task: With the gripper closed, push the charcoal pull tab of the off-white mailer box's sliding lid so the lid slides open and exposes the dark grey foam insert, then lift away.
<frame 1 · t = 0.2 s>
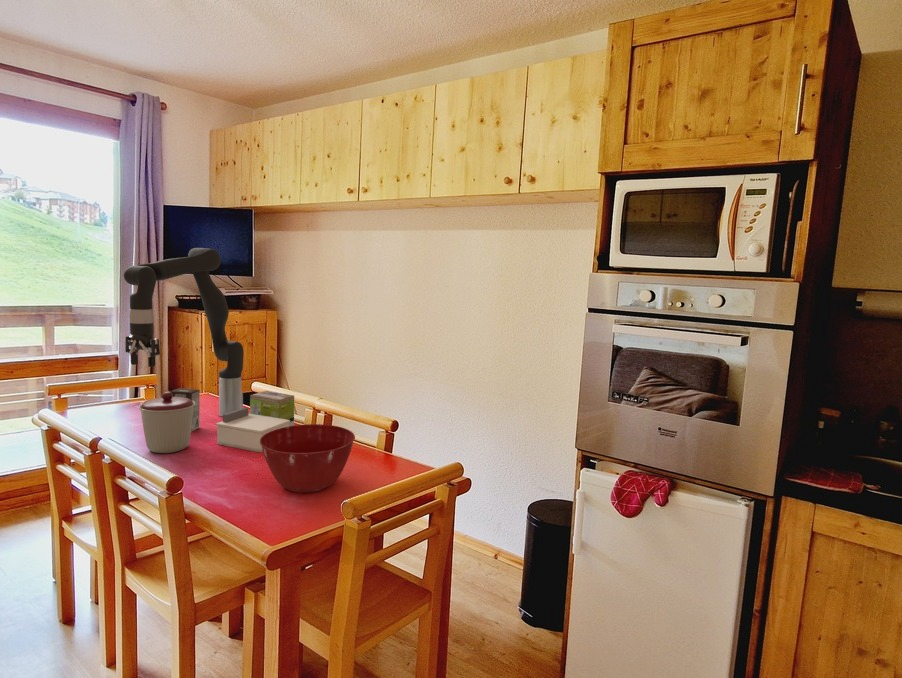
hand: (143, 365, 199), 29 cm above the table, fingers open, 8 cm apart
tea box: (272, 429, 226), on the table
mixing bowl: (307, 485, 170), on the table
canister: (168, 449, 197), on the table
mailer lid: (253, 418, 207), point 9 cm above the table, slide at 0.0 cm
coffee box: (185, 429, 221), on the table
mailer box: (253, 442, 208), on the table
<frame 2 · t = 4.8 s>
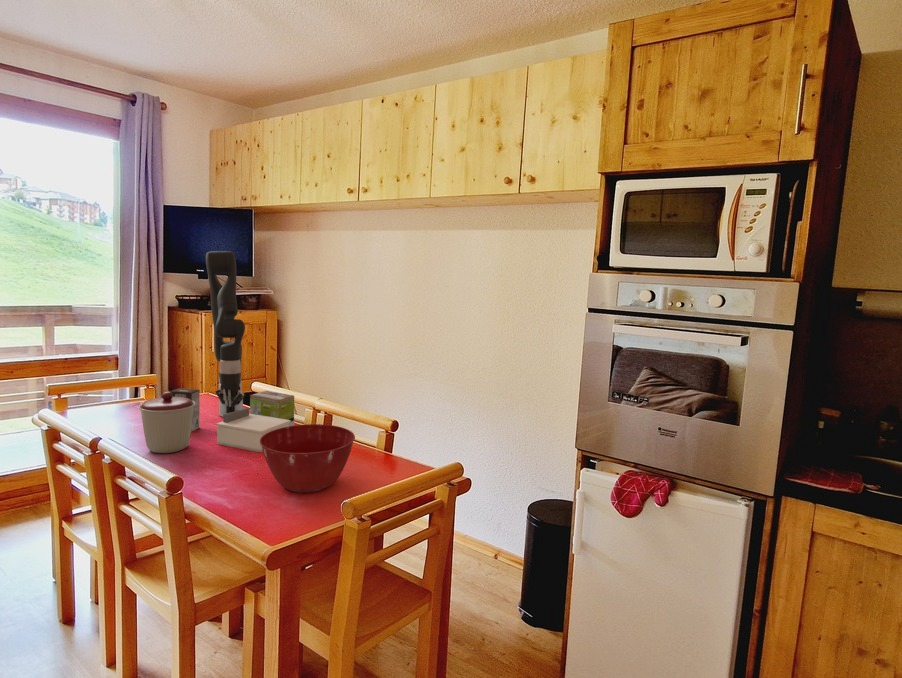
hand: (230, 415, 211), 9 cm above the table, fingers closed
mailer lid: (254, 418, 207), point 9 cm above the table, slide at 0.3 cm, touching gripper
everything else where it was.
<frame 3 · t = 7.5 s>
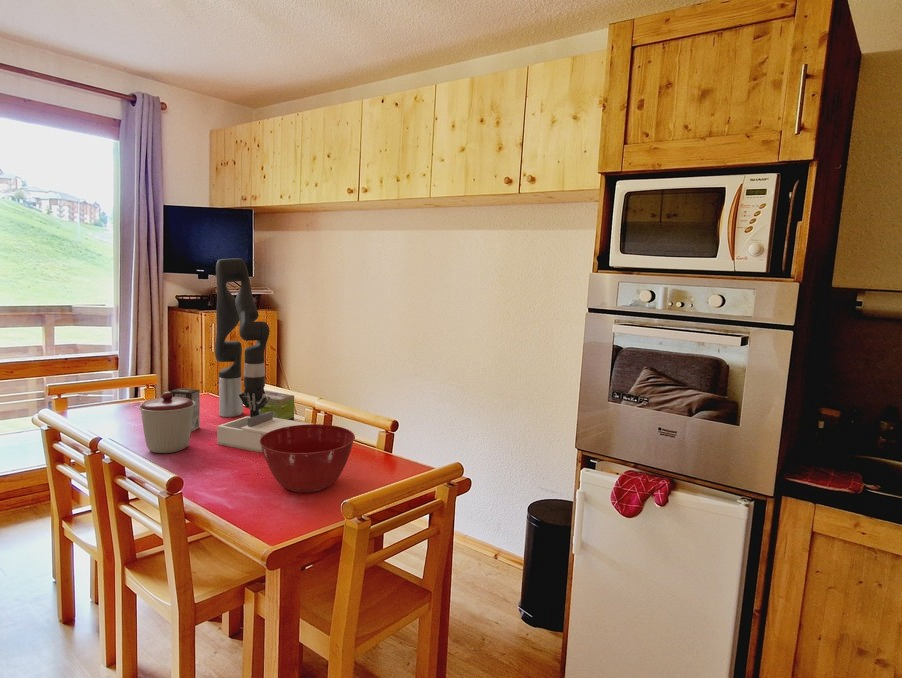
hand: (254, 419, 207), 9 cm above the table, fingers closed
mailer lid: (279, 423, 203), point 9 cm above the table, slide at 11.7 cm, touching gripper
everything else where it was.
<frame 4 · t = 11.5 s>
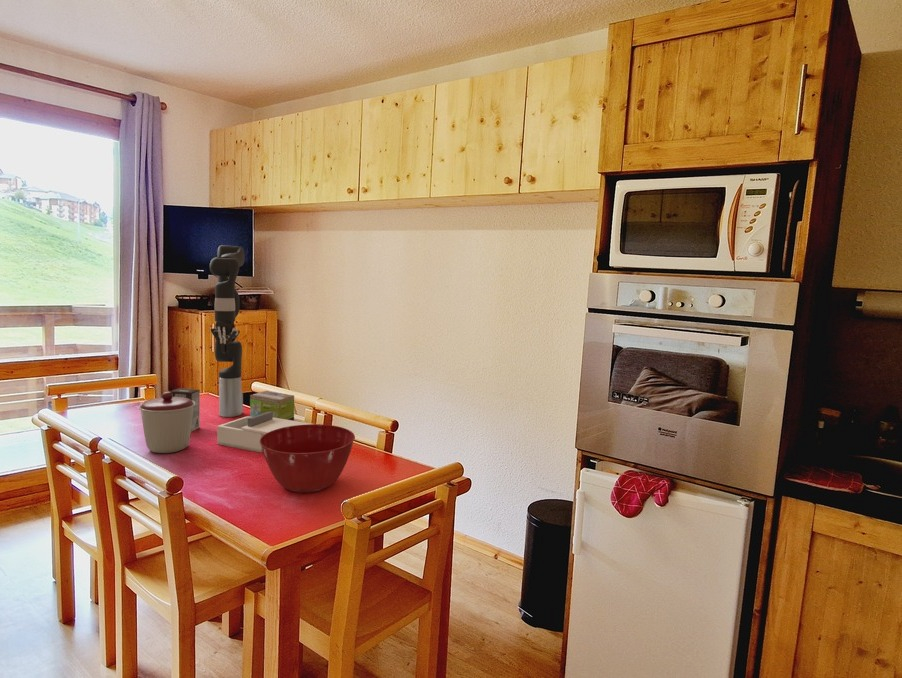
hand: (225, 352, 216), 32 cm above the table, fingers closed
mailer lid: (279, 423, 203), point 9 cm above the table, slide at 11.7 cm
everything else where it was.
at the end: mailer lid slide at 11.7 cm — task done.
